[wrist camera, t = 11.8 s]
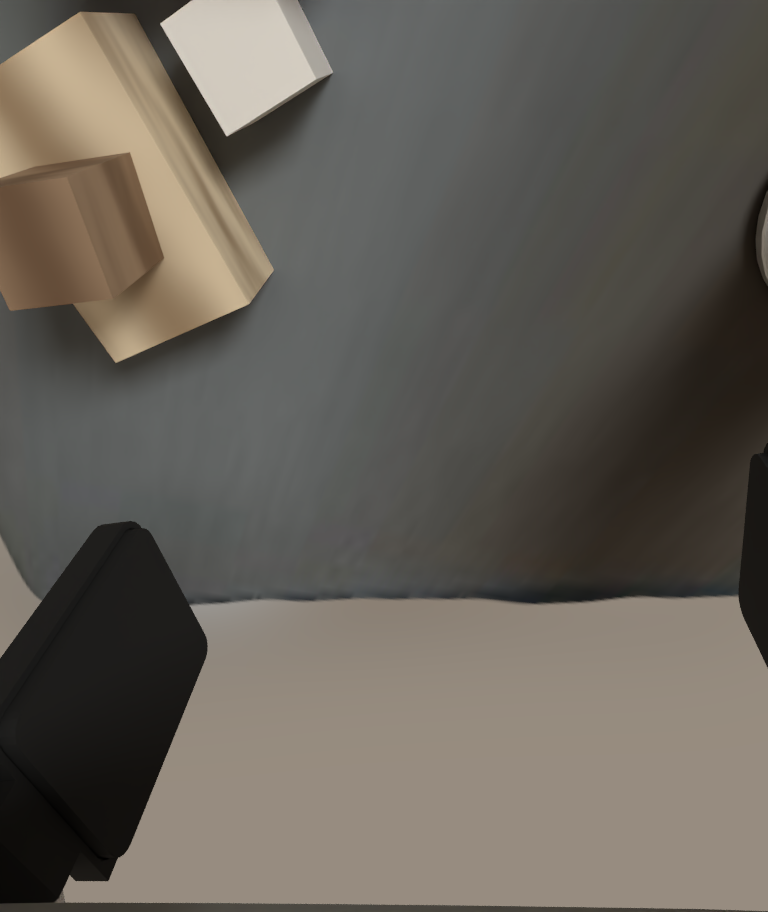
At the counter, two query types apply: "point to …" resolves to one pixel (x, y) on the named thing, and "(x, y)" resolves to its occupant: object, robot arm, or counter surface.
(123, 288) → the walnut block
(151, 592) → the robot arm
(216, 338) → the counter surface
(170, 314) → the maple block
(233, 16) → the offwhite cube
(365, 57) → the counter surface
